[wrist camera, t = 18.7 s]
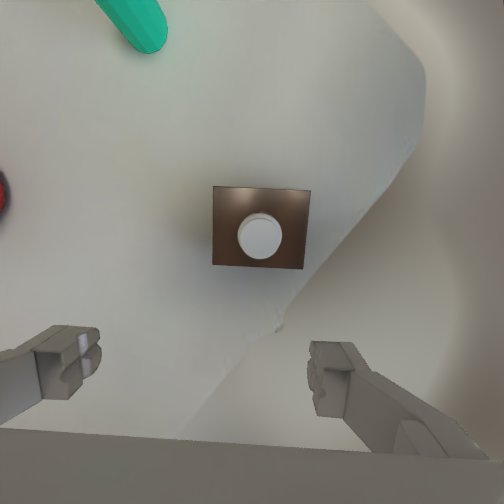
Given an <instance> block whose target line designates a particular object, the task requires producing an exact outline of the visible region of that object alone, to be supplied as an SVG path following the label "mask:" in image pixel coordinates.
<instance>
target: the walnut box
mask: <svg viewBox="0 0 504 504" xmlns="http://www.w3.org/2000/svg"><path fill="white" fill-rule="evenodd" d="M310 194H311V191H307V190H286V189H265V188H243V187H222V186H213V254H212V264H213V265H228V266H247V267H265V268H284V269H303V265H304V255H305V245H306V235H307V225H308V215H309V205H310ZM256 211H264V212H267V213H269V214H271V215H272V216H273V217H274V218H275V219H276V220H277V222H278V223H279V225H280V227H281V231H282V239H281V243H280V245H279V247H278V249H277V251H276V252H275V253H274V254H273V255H271V256H270V257H268V258H265V259H255V258H252V257H250V256H248V255H247V254H246V253H245V252H244V251H243V249H242V248H241V246H240V244H239V242H238V229H239V226H240V224H241V223H242V222H243V220H244V219H245V218H246V217H247V216H248V215H249V214H251V213H253V212H256Z"/></svg>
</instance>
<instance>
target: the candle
mask: <svg viewBox="0 0 504 504" xmlns="http://www.w3.org/2000/svg"><path fill="white" fill-rule="evenodd" d="M95 2H96V3H97V4H98V5H99V6H100V8H101V9H102V10H103V11H104V12H105V14H106V15H107V16H108V17H109V18H110V20H111V21H112V22H113V23H114V24H115V26H116V27H117V28H118V29H119V30H120V32H121V33H122V34H123V35H124V36H125V38H126V39H127V40H128V41H129V42H130V43H131V44H132V45H133V46H134V47H135V48H136V49H137V50H138V51H140V52H144V53H148V54H150V53H152V52H155V51H158V50H159V49H160V48H161V47H162V45H163V44H164V43H165V41H166V37H167V30H168V27H167V23H166V20H165V17H164V14H163V12H162V10H161V8H160V6H159V4H158V2H157V1H156V0H95Z"/></svg>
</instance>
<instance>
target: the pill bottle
mask: <svg viewBox="0 0 504 504" xmlns="http://www.w3.org/2000/svg"><path fill="white" fill-rule="evenodd" d="M281 239H282V231H281V227H280V225H279V223H278V222H277V220H276V219H275V218H274V217H273V216H272V215H271V214H269V213H267V212H264V211H256V212H253V213H251V214H249V215H248V216H247V217H246V218H245V219H244V220H243V222H242V223H241V224H240V226H239V229H238V242H239V244H240V246H241V248H242V249H243V251H244V252H245V253H246V254H247V255H248V256H250V257H252V258H255V259H265V258H268V257H270V256H271V255H273V254H274V253H275V252H276V251H277V249H278V247H279V245H280V243H281Z"/></svg>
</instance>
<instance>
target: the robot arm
mask: <svg viewBox="0 0 504 504" xmlns="http://www.w3.org/2000/svg"><path fill="white" fill-rule="evenodd" d="M99 339H100V333H99V330H98V329H97V328H93V327H81V326H69V325H53V326H51V327H50V328H48V329H47V330H45V331H43V332H42V333H40V334H38V335H37V336H35V337H33V338H32V339H30V340H28V341H27V342H25V343H24V344H22V345H20V346H19V347H17V348H15V349H8V350H5V351H2V352H0V425H2V424H3V423H5V422H7V421H8V420H10V419H12V418H13V417H15V416H17V415H18V414H20V413H22V412H24V411H25V410H27V409H29V408H30V407H32V406H34V405H35V404H37V403H39V402H40V401H42V399H52V400H68V399H69V398H70V397H71V396H72V395H73V394H74V393H75V392H76V391H77V390H78V389H79V388H80V387H81V386H82V385H83V379H85V378H87V377H89V376H91V375H92V374H93V373H94V372H95V371H96V370H97V368H98V366H99V364H100V362H101V357H102V351H101V348H100V346H99V345H98V344H97V342H98V341H99ZM309 352H310V355H311V359H310V360H309V361H308V367H307V377H308V384H309V388H310V390H312V391H313V403H314V406H315V410H316V413H317V416H322V417H332V418H343V420H344V421H345V422H346V424H347V425H348V426H349V427H350V428H351V429H352V430H353V431H354V432H355V434H356V435H357V436H358V437H359V438H360V439H361V440H362V441H363V442H364V443H365V445H366V446H367V447H368V448H369V449H370V450H371V451H372V452H358V451H343V450H326V449H310V448H296V447H281V446H266V445H251V444H236V443H220V442H206V441H192V440H176V439H161V438H146V437H130V436H115V435H99V434H84V433H69V432H54V431H39V430H24V429H9V428H0V504H504V461H494V460H490V459H489V458H488V457H487V456H486V454H485V453H484V452H483V451H482V450H481V449H480V448H479V446H478V445H477V444H476V443H475V442H474V441H473V440H472V439H471V437H470V436H469V435H468V434H467V433H466V432H465V431H464V429H463V428H462V427H461V426H460V425H459V424H458V423H457V422H456V421H455V420H453V419H451V418H450V417H448V416H446V415H445V414H443V413H442V412H440V411H439V410H437V409H435V408H433V407H432V406H431V405H429V404H427V403H426V402H424V401H423V400H421V399H419V398H418V397H416V396H414V395H413V394H411V393H410V392H408V391H406V390H405V389H403V388H402V387H400V386H398V385H397V384H395V383H394V382H392V381H390V380H389V379H387V378H385V377H384V376H382V375H381V374H379V373H378V372H372V371H371V369H370V368H369V366H368V365H367V363H366V362H365V360H364V359H363V357H362V356H361V354H360V353H359V351H358V350H357V348H356V347H355V345H354V344H353V343H351V342H326V341H311V343H310V348H309Z"/></svg>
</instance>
